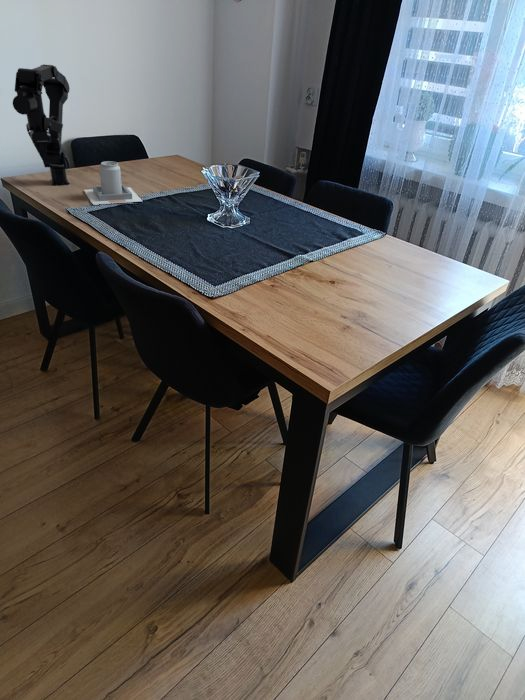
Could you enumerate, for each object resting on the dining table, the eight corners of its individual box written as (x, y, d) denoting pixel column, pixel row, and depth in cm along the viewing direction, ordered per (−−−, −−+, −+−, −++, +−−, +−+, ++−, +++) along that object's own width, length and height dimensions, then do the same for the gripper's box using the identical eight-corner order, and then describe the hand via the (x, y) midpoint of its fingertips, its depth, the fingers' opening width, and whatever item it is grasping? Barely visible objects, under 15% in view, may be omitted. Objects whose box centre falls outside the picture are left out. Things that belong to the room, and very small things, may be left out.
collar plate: (84, 191, 193) (83, 184, 191) (130, 188, 200) (129, 182, 199) (93, 205, 180) (92, 198, 178) (142, 202, 187) (142, 195, 186)
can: (125, 193, 193) (122, 161, 186) (118, 199, 186) (115, 166, 180) (106, 191, 193) (103, 159, 186) (99, 197, 187) (95, 164, 180)
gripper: (63, 115, 169) (69, 162, 177) (55, 105, 182) (61, 150, 191) (28, 114, 164) (36, 163, 173) (22, 105, 178) (30, 151, 186)
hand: (42, 156), depth 181 cm, fingers open, 9 cm apart
